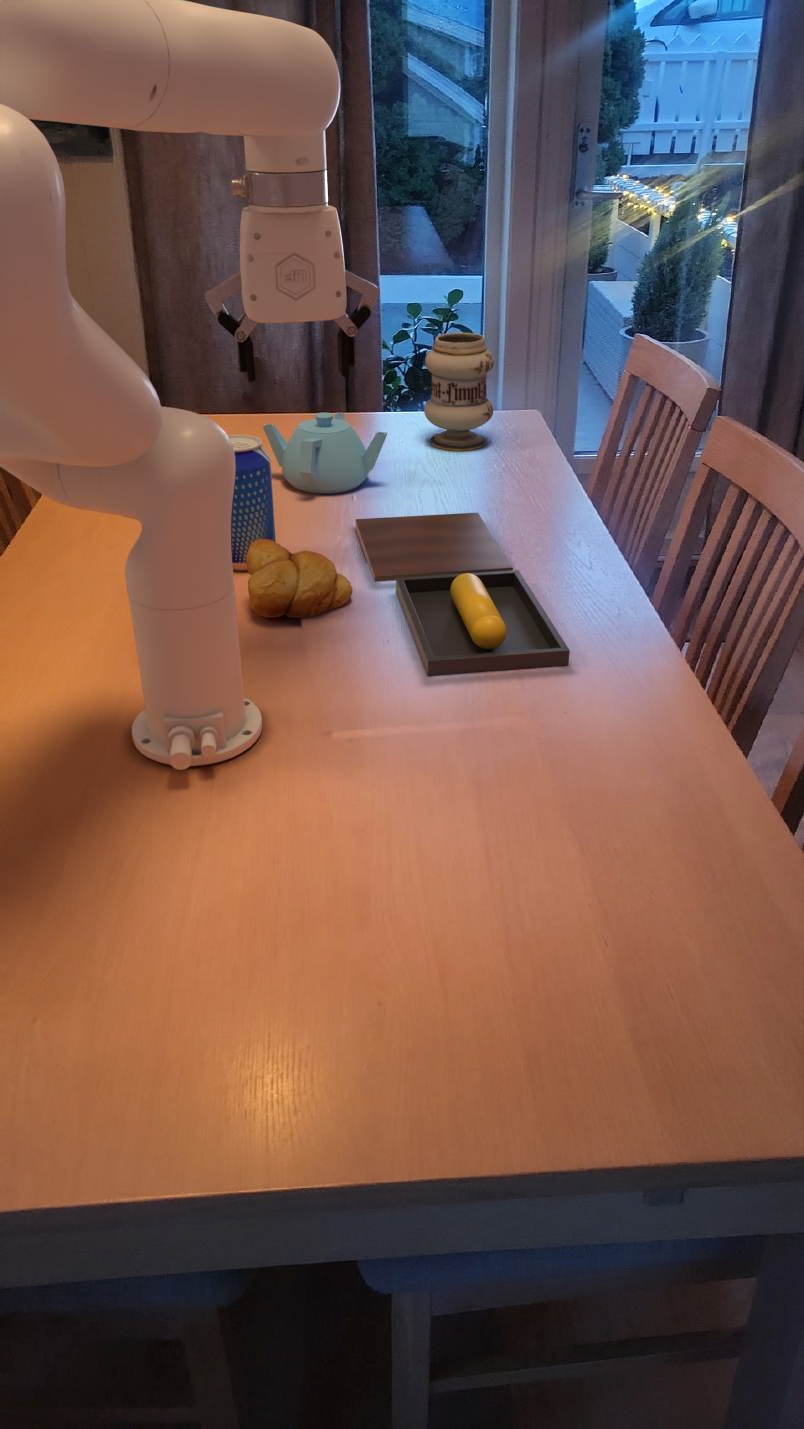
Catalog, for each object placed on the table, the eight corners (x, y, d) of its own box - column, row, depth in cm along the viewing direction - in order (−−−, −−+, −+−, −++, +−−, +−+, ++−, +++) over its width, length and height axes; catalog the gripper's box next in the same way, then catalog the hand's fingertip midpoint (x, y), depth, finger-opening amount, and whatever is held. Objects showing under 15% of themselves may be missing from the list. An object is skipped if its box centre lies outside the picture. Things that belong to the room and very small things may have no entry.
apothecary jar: (417, 434, 186) (419, 330, 177) (482, 431, 188) (486, 328, 179) (431, 454, 176) (433, 346, 167) (499, 451, 178) (505, 343, 169)
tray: (567, 671, 112) (570, 650, 111) (427, 682, 110) (428, 661, 109) (517, 588, 130) (518, 569, 129) (395, 596, 128) (396, 577, 127)
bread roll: (355, 593, 129) (353, 533, 125) (349, 628, 121) (347, 565, 116) (252, 591, 129) (248, 531, 125) (240, 626, 121) (234, 563, 117)
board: (512, 578, 133) (513, 567, 132) (374, 587, 130) (374, 576, 130) (477, 522, 150) (478, 512, 149) (355, 528, 147) (355, 519, 146)
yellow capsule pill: (509, 654, 114) (511, 622, 112) (473, 657, 113) (475, 624, 111) (478, 597, 126) (480, 567, 124) (447, 599, 126) (447, 568, 124)
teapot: (261, 475, 167) (257, 409, 161) (343, 460, 173) (341, 396, 168) (305, 504, 156) (301, 433, 150) (389, 487, 162) (389, 418, 157)
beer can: (217, 576, 133) (205, 454, 125) (210, 551, 140) (198, 434, 131) (281, 569, 135) (274, 449, 126) (271, 545, 142) (263, 430, 133)
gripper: (196, 198, 92) (215, 391, 102) (385, 194, 95) (386, 381, 104) (193, 189, 98) (211, 371, 108) (370, 185, 101) (373, 363, 111)
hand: (297, 376), depth 106 cm, fingers open, 9 cm apart
